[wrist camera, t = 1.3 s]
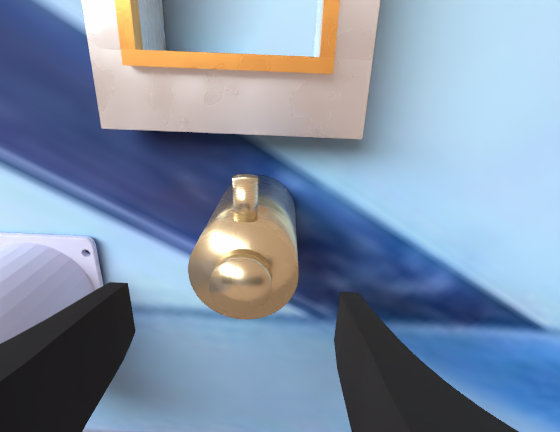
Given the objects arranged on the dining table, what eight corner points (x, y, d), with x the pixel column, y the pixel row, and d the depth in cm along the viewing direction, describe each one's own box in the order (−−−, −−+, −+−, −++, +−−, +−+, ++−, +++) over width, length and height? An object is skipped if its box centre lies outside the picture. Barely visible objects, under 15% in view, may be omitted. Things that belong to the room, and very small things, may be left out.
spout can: (293, 246, 21) (296, 338, 14) (221, 243, 21) (185, 333, 14) (298, 147, 19) (306, 194, 11) (217, 144, 19) (172, 188, 11)
